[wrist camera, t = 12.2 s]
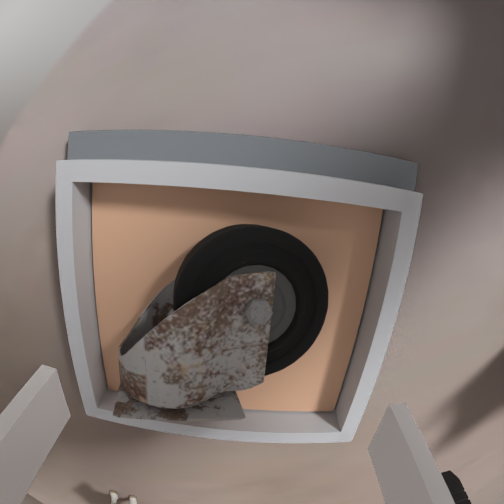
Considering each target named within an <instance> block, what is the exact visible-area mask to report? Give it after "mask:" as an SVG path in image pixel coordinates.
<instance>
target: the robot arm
mask: <svg viewBox="0 0 504 504" xmlns="http://www.w3.org/2000/svg"><path fill="white" fill-rule="evenodd" d="M70 417H71V415H70V412H69V409H68V406H67V403H66V399H65V396H64V393H63V390H62V386H61V383H60V379H59V376H58V372H57V369H55V368H52V367H49V366H46V365H41V366H40V368H39V369H38V370H37V371H36V372H35V373H34V374H33V376H32V377H31V378H30V379H29V380H28V381H27V383H26V384H25V385H24V386H23V387H22V389H21V390H20V391H19V392H18V393H17V395H16V396H15V397H14V398H13V399H12V401H11V402H10V403H9V404H8V406H7V407H6V408H5V409H4V411H3V412H2V413H1V414H0V504H21V503H22V501H23V499H24V497H25V495H26V493H27V492H28V490H29V488H30V486H31V484H32V482H33V481H34V479H35V477H36V475H37V473H38V472H39V470H40V468H41V466H42V464H43V463H44V461H45V459H46V457H47V456H48V454H49V452H50V450H51V449H52V447H53V445H54V444H55V442H56V440H57V438H58V437H59V435H60V433H61V432H62V430H63V428H64V427H65V425H66V423H67V422H68V420H69V418H70ZM368 450H369V453H370V456H371V459H372V462H373V465H374V468H375V471H376V474H377V477H378V481H379V484H380V487H381V490H382V493H383V496H384V500H385V503H386V504H471V502H470V500H468V496H467V494H466V492H464V488H463V486H462V484H461V482H460V480H459V478H458V477H457V476H456V475H454V474H453V473H452V472H451V471H446V472H443V473H441V472H440V470H439V468H438V466H437V464H436V462H435V460H434V458H433V456H432V454H431V452H430V450H429V448H428V446H427V444H426V442H425V440H424V438H423V436H422V434H421V432H420V430H419V428H418V426H417V424H416V422H415V420H414V418H413V416H412V414H411V412H410V410H409V409H408V407H407V405H406V403H401V404H389V406H388V408H387V410H386V413H385V415H384V417H383V419H382V421H381V423H380V425H379V427H378V429H377V431H376V433H375V435H374V437H373V439H372V441H371V443H370V445H369V447H368Z"/></svg>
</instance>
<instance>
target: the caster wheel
mask: <svg viewBox="0 0 504 504" xmlns="http://www.w3.org/2000/svg"><path fill="white" fill-rule="evenodd" d="M328 296H329V291H328V285H327V280H326V276H325V273H324V270H323V267H322V266H321V264H320V262H319V260H318V259H317V257H316V256H315V254H314V253H313V252H312V251H311V250H310V249H309V248H308V247H307V246H306V245H305V244H304V243H303V242H302V241H300V240H299V239H298V238H296V237H294V236H293V235H291V234H289V233H287V232H284V231H282V230H278V229H275V228H271V227H267V226H261V225H256V224H237V225H231V226H227V227H224V228H222V229H219V230H217V231H214V232H212V233H211V234H209V235H208V236H206V237H205V238H203V239H202V240H201V241H199V242H198V243H197V244H196V245H195V246H194V247H193V248H192V249H191V251H190V252H189V253H188V254H187V255H186V257H185V258H184V260H183V262H182V264H181V266H180V267H179V270H178V273H177V276H176V279H174V280H173V281H171V282H170V283H169V284H167V285H166V286H165V287H164V288H163V289H162V290H161V291H160V292H159V293H158V294H157V295H156V296H155V297H154V298H153V299H152V300H151V302H150V303H149V304H148V305H147V307H146V308H145V309H144V311H143V312H142V314H141V315H140V316H139V318H138V320H137V321H136V323H135V324H134V326H133V327H132V329H131V330H130V332H129V333H128V335H127V336H126V337H125V339H124V340H123V341H122V343H121V344H120V346H119V348H118V359H119V374H120V385H119V389H118V394H117V398H116V402H115V407H114V411H113V416H116V417H118V418H129V419H144V420H166V421H223V420H241V419H244V418H246V417H245V414H244V411H243V409H242V406H241V404H240V401H239V398H238V396H237V393H236V391H242V390H247V389H251V388H253V387H255V386H257V385H260V384H262V383H263V382H264V376H267V375H270V374H273V373H275V372H278V371H281V370H283V369H285V368H286V367H288V366H290V365H291V364H293V363H294V362H296V361H297V360H298V359H299V358H300V357H302V356H303V355H304V354H305V353H306V352H307V351H308V350H309V348H310V347H311V346H312V345H313V343H314V342H315V340H316V339H317V337H318V335H319V333H320V331H321V329H322V327H323V324H324V322H325V318H326V314H327V310H328Z"/></svg>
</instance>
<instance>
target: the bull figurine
mask: <svg viewBox="0 0 504 504" xmlns="http://www.w3.org/2000/svg"><path fill="white" fill-rule="evenodd" d="M110 495H111V499H112V502H111V504H117V503H116V502H117V499H118V496H117V493H116V492H115V491H110ZM129 500H130V502H129V504H137V501H136V497H135V496H133V495H130V496H129Z"/></svg>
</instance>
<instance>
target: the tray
mask: <svg viewBox="0 0 504 504" xmlns="http://www.w3.org/2000/svg"><path fill="white" fill-rule="evenodd" d="M417 170H418V163H416V162H411V161H407V160H403V159H398V158H394V157H389V156H384V155H379V154H374V153H369V152H364V151H358V150H353V149H347V148H341V147H335V146H329V145H323V144H316V143H309V142H302V141H295V140H287V139H279V138H270V137H261V136H250V135H239V134H227V133H213V132H196V131H171V130H98V131H75V132H69V139H68V154H67V160H56V237H57V254H58V266H59V277H60V286H61V295H62V303H63V310H64V317H65V323H66V329H67V335H68V340H69V346H70V351H71V356H72V361H73V365H74V370H75V374H76V378H77V382H78V387H79V390H80V394H81V398H82V402H83V405H84V409H85V413H86V415H88V416H92V417H95V418H99V419H103V420H107V421H111V422H116V423H120V424H124V425H129V426H134V427H138V428H143V429H149V430H154V431H160V432H166V433H172V434H178V435H185V436H193V437H201V438H209V439H219V440H230V441H244V442H262V443H329V442H348V441H352V439H353V437H354V434H355V432H356V430H357V427H358V425H359V423H360V420H361V418H362V416H363V413H364V411H365V408H366V406H367V403H368V401H369V398H370V396H371V393H372V390H373V388H374V385H375V382H376V380H377V377H378V374H379V371H380V368H381V365H382V363H383V360H384V357H385V354H386V351H387V348H388V344H389V341H390V338H391V335H392V332H393V328H394V325H395V322H396V318H397V315H398V311H399V307H400V304H401V300H402V296H403V292H404V289H405V285H406V280H407V276H408V272H409V268H410V263H411V259H412V254H413V250H414V245H415V240H416V235H417V229H418V224H419V218H420V212H421V206H422V200H423V193H419V192H415V186H416V178H417ZM237 224H256V225H261V226H267V227H271V228H275V229H278V230H282V231H284V232H287V233H289V234H291V235H293V236H294V237H296V238H298V239H299V240H300V241H302V242H303V243H304V244H305V245H306V246H307V247H308V248H309V249H310V250H311V251H312V252H313V253H314V254H315V256H316V257H317V259H318V260H319V262H320V264H321V266H322V267H323V270H324V273H325V276H326V280H327V285H328V291H329V296H328V310H327V314H326V318H325V322H324V324H323V327H322V329H321V331H320V333H319V335H318V337H317V339H316V340H315V342H314V343H313V345H312V346H311V347H310V348H309V350H308V351H307V352H306V353H305V354H304V355H303V356H302V357H300V358H299V359H298V360H297V361H296V362H294V363H293V364H291V365H290V366H288V367H286V368H285V369H283V370H281V371H278V372H275V373H273V374H270V375H267V376H264V382H263V383H262V384H260V385H257V386H255V387H253V388H251V389H247V390H242V391H236V393H237V396H238V398H239V401H240V404H241V406H242V409H243V411H244V414H245V417H246V418H244V419H241V420H223V421H166V420H144V419H129V418H118V417H116V416H113V411H114V407H115V402H116V398H117V394H118V389H119V385H120V374H119V359H118V348H119V346H120V344H121V343H122V341H123V340H124V339H125V337H126V336H127V335H128V333H129V332H130V330H131V329H132V327H133V326H134V324H135V323H136V321H137V320H138V318H139V316H140V315H141V314H142V312H143V311H144V309H145V308H146V307H147V305H148V304H149V303H150V302H151V300H152V299H153V298H154V297H155V296H156V295H157V294H158V293H159V292H160V291H161V290H162V289H163V288H164V287H165V286H166V285H167V284H169V283H170V282H171V281H173V280H174V279H176V276H177V273H178V270H179V267H180V266H181V264H182V262H183V260H184V258H185V257H186V255H187V254H188V253H189V252H190V251H191V249H192V248H193V247H194V246H195V245H196V244H197V243H198V242H199V241H201V240H202V239H203V238H205V237H206V236H208V235H209V234H211V233H212V232H214V231H217V230H219V229H222V228H224V227H227V226H231V225H237Z"/></svg>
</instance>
